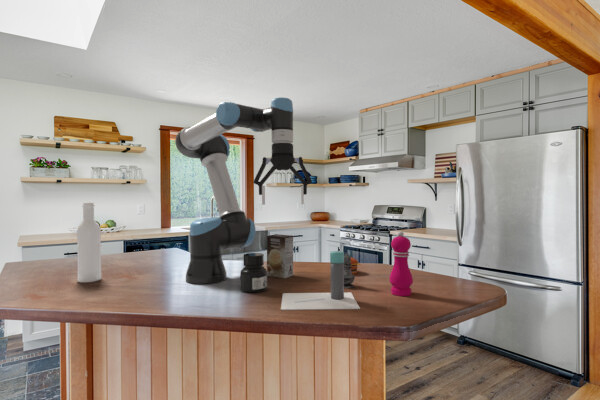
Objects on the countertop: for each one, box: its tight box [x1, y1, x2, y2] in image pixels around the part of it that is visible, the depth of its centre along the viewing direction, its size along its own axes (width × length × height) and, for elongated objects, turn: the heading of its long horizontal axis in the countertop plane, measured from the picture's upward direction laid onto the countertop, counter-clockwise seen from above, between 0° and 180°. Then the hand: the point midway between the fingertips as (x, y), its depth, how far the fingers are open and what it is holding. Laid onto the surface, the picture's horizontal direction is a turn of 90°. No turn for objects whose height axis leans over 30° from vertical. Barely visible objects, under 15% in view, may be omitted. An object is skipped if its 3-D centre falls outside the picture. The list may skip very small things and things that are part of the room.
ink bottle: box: [240, 252, 268, 294], centre depth 121 cm, size 10×9×12 cm
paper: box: [280, 291, 361, 311], centre depth 107 cm, size 22×16×1 cm
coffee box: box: [266, 233, 294, 279], centre depth 142 cm, size 9×6×16 cm
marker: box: [329, 250, 345, 300], centre depth 109 cm, size 4×4×14 cm
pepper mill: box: [389, 231, 414, 297], centre depth 114 cm, size 7×7×20 cm
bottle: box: [76, 201, 102, 283], centre depth 137 cm, size 8×8×30 cm
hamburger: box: [351, 256, 362, 276], centre depth 146 cm, size 9×10×7 cm
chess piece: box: [344, 251, 356, 289], centre depth 124 cm, size 6×6×12 cm
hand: (283, 204), depth 124 cm, fingers open, 13 cm apart
